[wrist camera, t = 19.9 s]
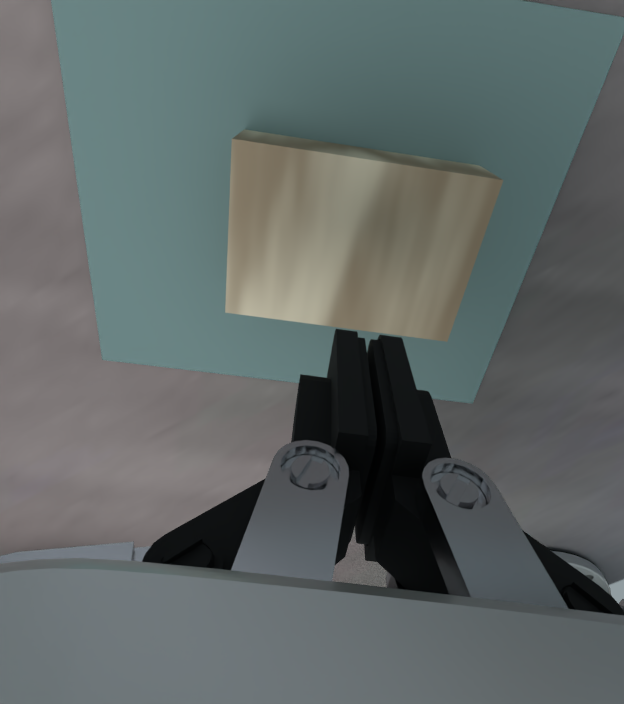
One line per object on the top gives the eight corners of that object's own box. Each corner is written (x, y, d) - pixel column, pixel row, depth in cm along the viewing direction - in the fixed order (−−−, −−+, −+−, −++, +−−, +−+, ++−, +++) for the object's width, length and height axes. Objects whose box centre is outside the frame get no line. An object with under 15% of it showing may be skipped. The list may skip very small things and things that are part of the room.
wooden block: (244, 129, 19) (479, 165, 19) (236, 284, 22) (433, 311, 23) (231, 138, 16) (503, 180, 17) (225, 312, 20) (447, 341, 20)
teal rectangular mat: (622, 19, 17) (630, 18, 16) (470, 398, 26) (472, 403, 26) (47, -76, 16) (39, -80, 15) (106, 355, 25) (102, 359, 25)
